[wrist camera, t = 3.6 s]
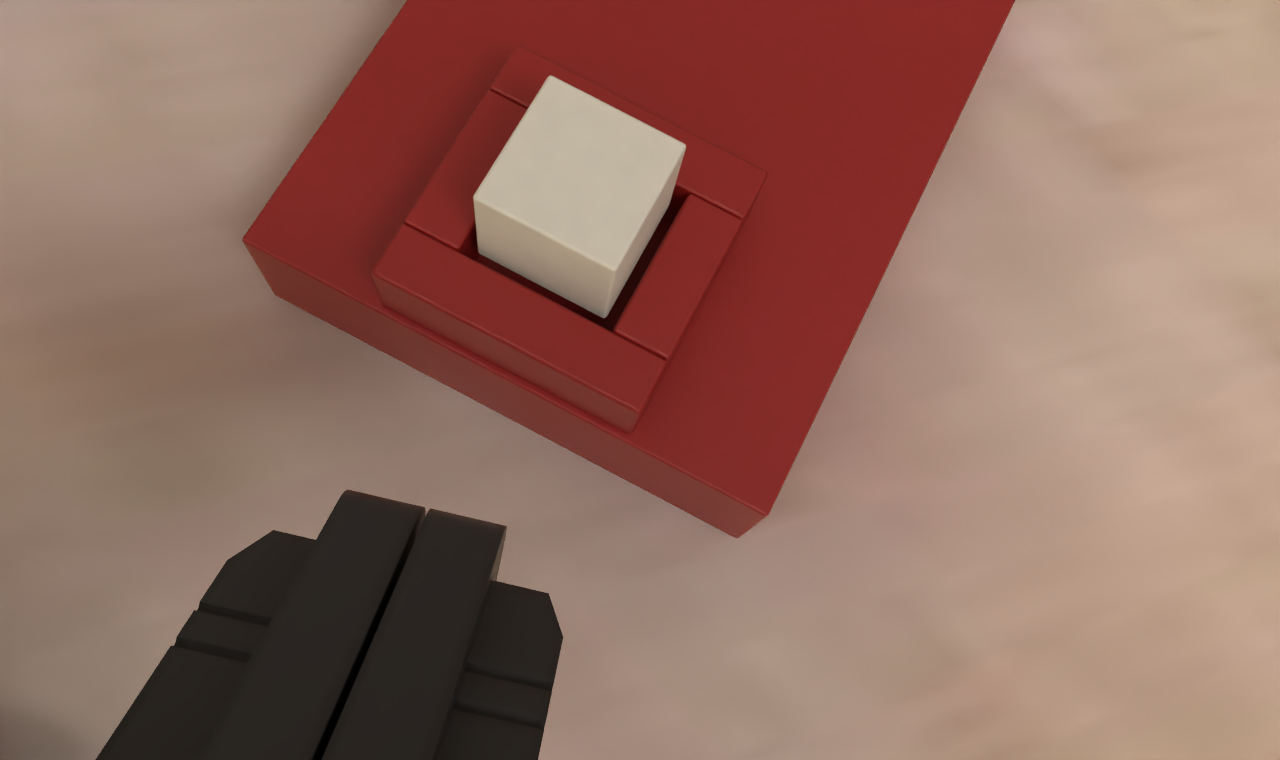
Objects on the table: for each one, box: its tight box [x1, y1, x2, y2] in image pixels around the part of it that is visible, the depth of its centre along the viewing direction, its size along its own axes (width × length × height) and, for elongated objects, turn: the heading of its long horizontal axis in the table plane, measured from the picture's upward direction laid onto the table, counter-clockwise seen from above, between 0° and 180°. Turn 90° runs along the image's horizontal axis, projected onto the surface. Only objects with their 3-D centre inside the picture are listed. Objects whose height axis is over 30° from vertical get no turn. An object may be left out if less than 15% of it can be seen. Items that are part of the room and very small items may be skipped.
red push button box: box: [243, 0, 1015, 538], centre depth 26 cm, size 12×16×5 cm
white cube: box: [473, 75, 686, 318], centre depth 21 cm, size 3×3×3 cm
